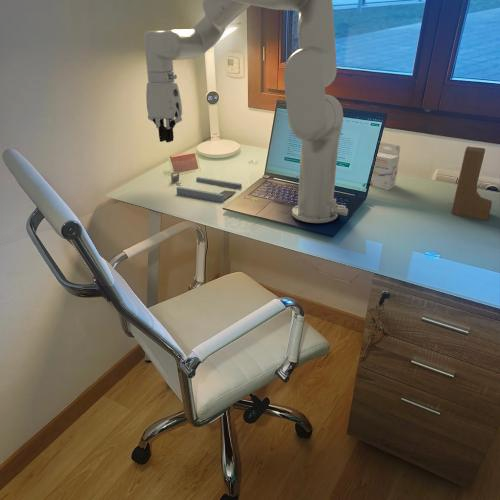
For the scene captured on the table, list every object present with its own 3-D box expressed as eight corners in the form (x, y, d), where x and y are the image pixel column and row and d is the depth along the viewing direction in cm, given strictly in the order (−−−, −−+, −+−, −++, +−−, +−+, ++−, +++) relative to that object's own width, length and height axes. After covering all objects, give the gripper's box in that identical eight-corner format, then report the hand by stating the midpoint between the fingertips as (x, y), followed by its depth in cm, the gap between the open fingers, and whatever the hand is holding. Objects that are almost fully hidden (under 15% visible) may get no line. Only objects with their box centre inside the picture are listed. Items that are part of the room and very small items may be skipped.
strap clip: (187, 186, 143) (186, 173, 141) (180, 188, 141) (179, 175, 140) (171, 180, 149) (170, 168, 147) (164, 182, 147) (163, 170, 145)
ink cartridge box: (361, 190, 139) (367, 143, 132) (369, 186, 142) (375, 140, 136) (386, 196, 134) (393, 148, 127) (394, 192, 137) (401, 145, 130)
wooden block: (488, 215, 120) (505, 150, 112) (487, 221, 116) (505, 154, 108) (452, 210, 124) (466, 146, 116) (450, 215, 120) (465, 149, 112)
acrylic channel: (241, 189, 139) (241, 183, 138) (222, 202, 129) (222, 195, 128) (198, 182, 146) (198, 176, 145) (176, 194, 136) (176, 187, 135)
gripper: (190, 77, 129) (194, 141, 137) (147, 75, 135) (153, 136, 143) (175, 80, 123) (180, 146, 131) (131, 78, 129) (138, 141, 137)
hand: (166, 140), depth 137 cm, fingers closed
